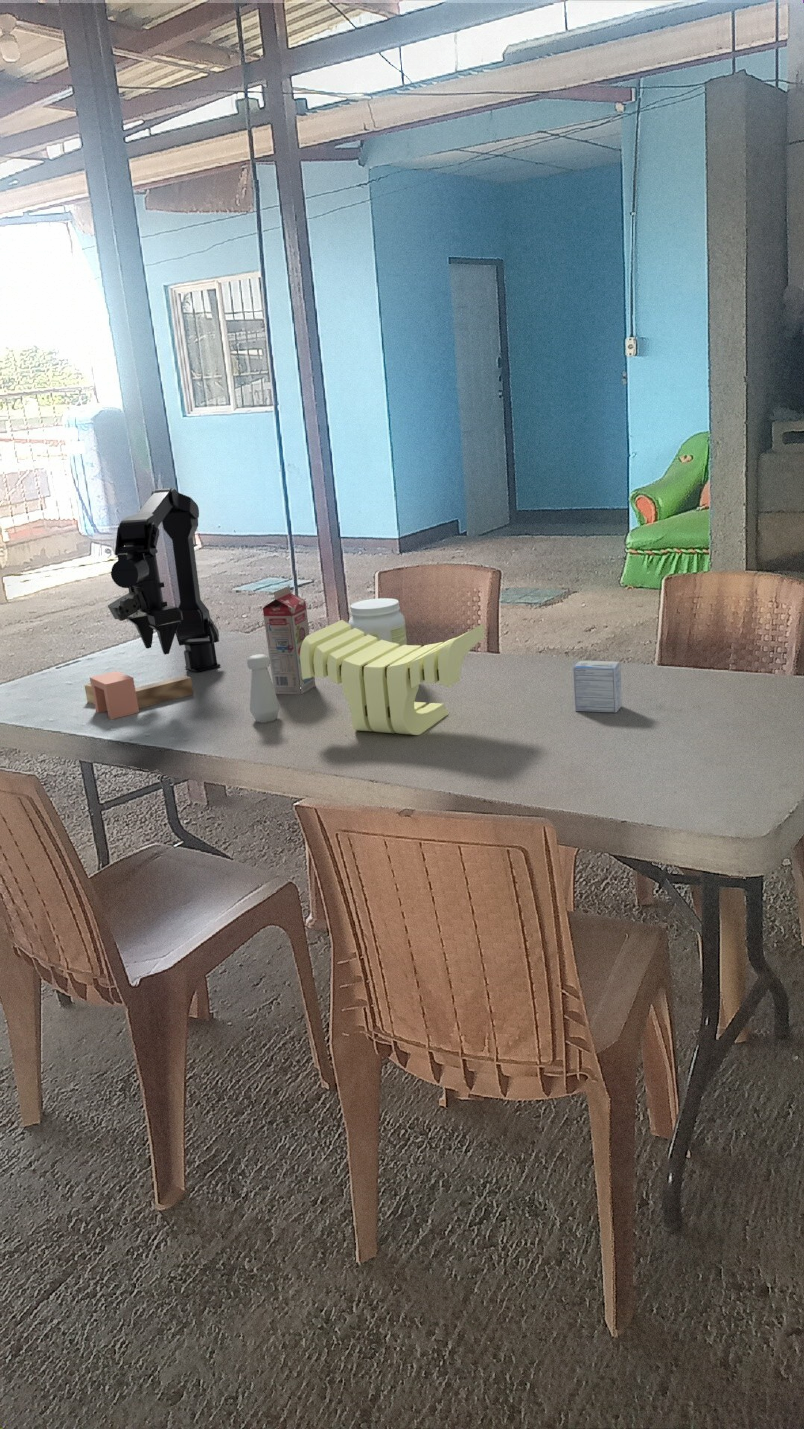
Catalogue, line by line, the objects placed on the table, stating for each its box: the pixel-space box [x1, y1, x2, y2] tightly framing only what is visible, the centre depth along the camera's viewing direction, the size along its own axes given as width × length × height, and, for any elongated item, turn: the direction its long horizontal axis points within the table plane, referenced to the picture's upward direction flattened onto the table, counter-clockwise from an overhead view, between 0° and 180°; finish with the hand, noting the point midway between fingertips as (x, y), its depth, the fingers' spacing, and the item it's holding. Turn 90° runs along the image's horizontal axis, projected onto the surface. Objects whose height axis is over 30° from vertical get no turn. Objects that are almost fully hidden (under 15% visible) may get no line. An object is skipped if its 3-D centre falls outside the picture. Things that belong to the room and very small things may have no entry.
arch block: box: [89, 670, 140, 720], centre depth 226 cm, size 6×9×8 cm, turn 36°
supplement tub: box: [347, 597, 408, 647], centre depth 230 cm, size 12×12×17 cm
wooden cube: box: [84, 682, 94, 704], centre depth 237 cm, size 4×4×4 cm
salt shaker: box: [246, 653, 281, 724], centre depth 210 cm, size 6×6×13 cm
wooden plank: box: [135, 675, 195, 709], centre depth 231 cm, size 18×3×4 cm, turn 126°
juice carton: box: [262, 585, 316, 695], centre depth 228 cm, size 7×7×22 cm
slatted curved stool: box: [300, 619, 485, 736], centre depth 199 cm, size 30×16×18 cm, turn 63°
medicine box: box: [572, 660, 623, 714], centre depth 198 cm, size 8×4×9 cm, turn 65°
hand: (157, 651), depth 230 cm, fingers open, 9 cm apart
